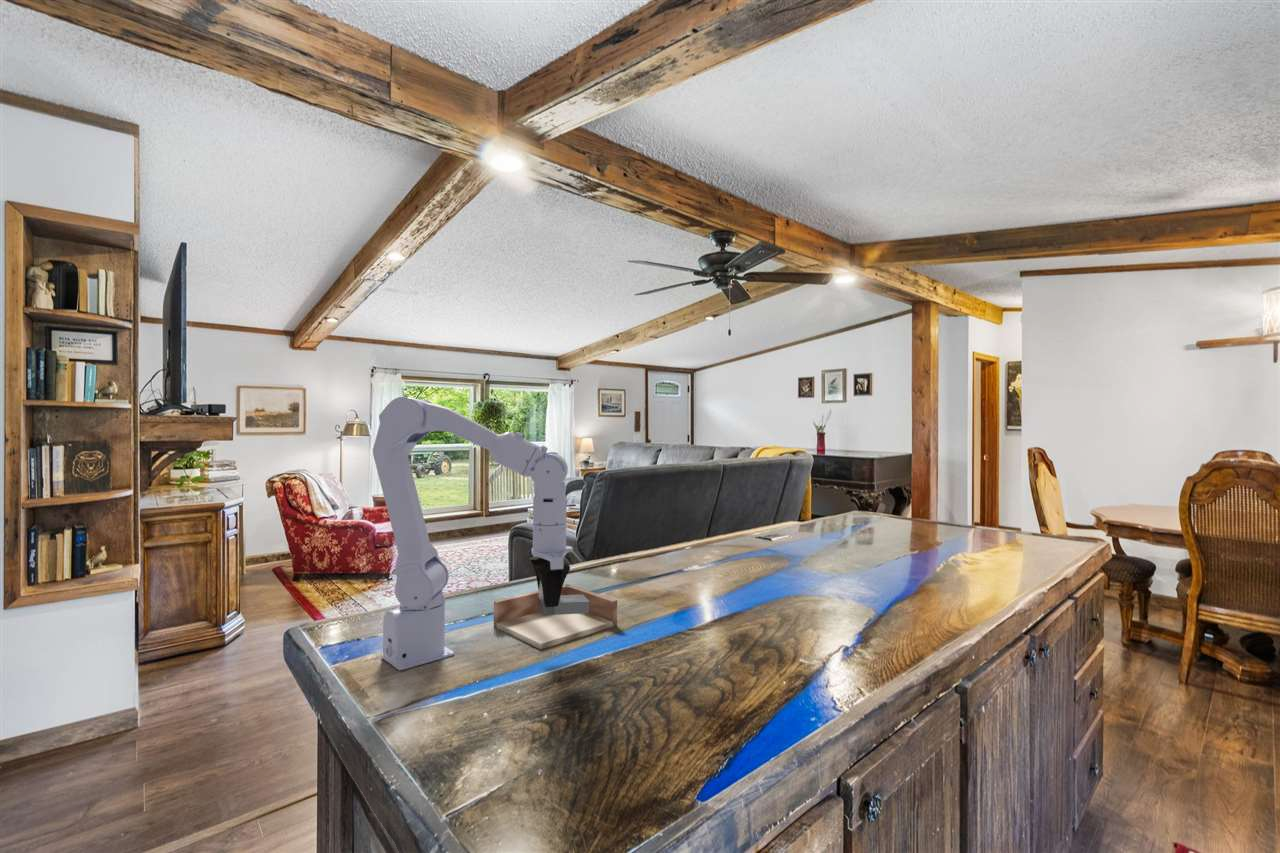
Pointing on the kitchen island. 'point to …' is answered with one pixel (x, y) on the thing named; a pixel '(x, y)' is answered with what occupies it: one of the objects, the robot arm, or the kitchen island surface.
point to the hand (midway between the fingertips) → (548, 601)
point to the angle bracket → (564, 604)
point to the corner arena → (553, 618)
